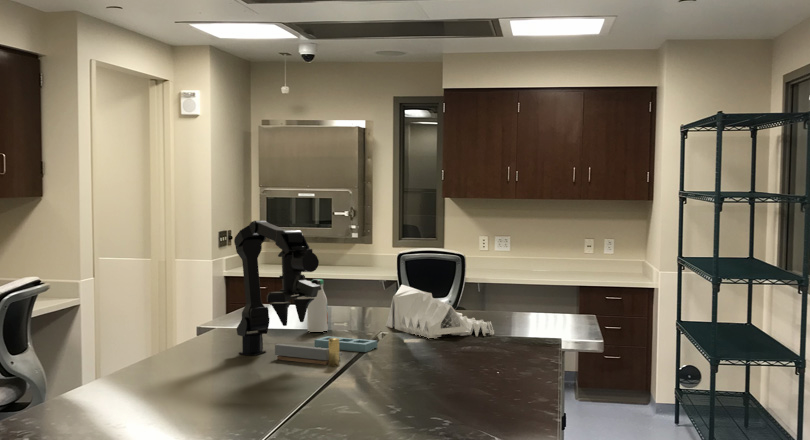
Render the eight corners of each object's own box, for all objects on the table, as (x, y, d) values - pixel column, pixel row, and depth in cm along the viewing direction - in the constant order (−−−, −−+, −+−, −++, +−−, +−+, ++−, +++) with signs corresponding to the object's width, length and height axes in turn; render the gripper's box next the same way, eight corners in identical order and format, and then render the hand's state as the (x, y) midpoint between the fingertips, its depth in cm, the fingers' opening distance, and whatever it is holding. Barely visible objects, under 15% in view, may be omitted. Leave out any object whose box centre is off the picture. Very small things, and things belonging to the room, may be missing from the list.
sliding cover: (326, 360, 217) (326, 349, 217) (274, 354, 226) (274, 344, 226) (342, 355, 225) (342, 344, 225) (292, 350, 234) (292, 340, 234)
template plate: (325, 364, 218) (325, 361, 218) (277, 359, 226) (277, 355, 226) (339, 359, 225) (339, 356, 225) (292, 354, 234) (292, 351, 234)
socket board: (365, 352, 237) (365, 344, 237) (314, 347, 246) (314, 339, 246) (377, 348, 244) (377, 340, 244) (327, 343, 254) (327, 336, 254)
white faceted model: (496, 336, 270) (496, 291, 270) (435, 342, 257) (435, 295, 257) (437, 321, 306) (437, 282, 306) (381, 326, 293) (381, 285, 293)
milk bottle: (326, 333, 274) (326, 280, 274) (306, 333, 274) (305, 280, 274) (328, 330, 282) (328, 278, 282) (309, 330, 282) (308, 278, 282)
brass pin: (335, 367, 215) (335, 340, 215) (326, 366, 216) (326, 339, 216) (341, 365, 217) (341, 338, 217) (332, 364, 219) (332, 337, 219)
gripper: (297, 273, 206) (299, 328, 206) (330, 269, 223) (332, 320, 223) (265, 273, 211) (266, 327, 210) (299, 270, 228) (301, 320, 227)
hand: (293, 323), depth 218 cm, fingers open, 9 cm apart
